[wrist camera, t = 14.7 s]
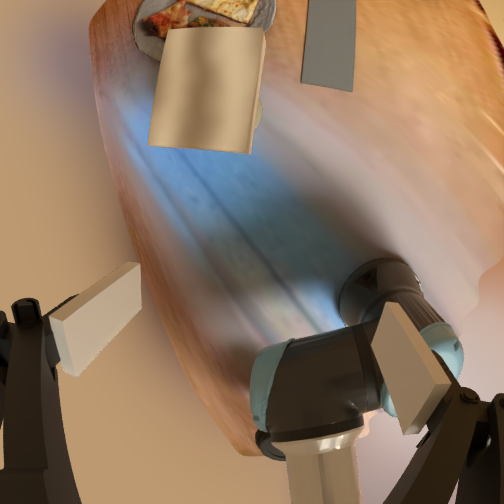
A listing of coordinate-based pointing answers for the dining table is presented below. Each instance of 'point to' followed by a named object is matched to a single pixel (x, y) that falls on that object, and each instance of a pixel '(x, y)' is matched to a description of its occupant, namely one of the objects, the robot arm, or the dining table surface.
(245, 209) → the dining table surface
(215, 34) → the beige wavy block
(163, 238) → the dining table surface
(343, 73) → the mat
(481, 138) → the dining table surface
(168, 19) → the food plate
